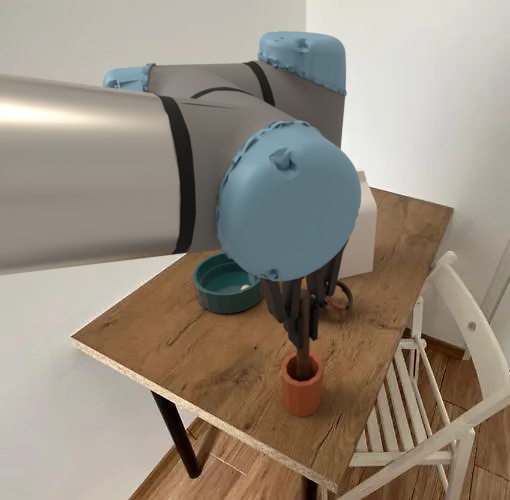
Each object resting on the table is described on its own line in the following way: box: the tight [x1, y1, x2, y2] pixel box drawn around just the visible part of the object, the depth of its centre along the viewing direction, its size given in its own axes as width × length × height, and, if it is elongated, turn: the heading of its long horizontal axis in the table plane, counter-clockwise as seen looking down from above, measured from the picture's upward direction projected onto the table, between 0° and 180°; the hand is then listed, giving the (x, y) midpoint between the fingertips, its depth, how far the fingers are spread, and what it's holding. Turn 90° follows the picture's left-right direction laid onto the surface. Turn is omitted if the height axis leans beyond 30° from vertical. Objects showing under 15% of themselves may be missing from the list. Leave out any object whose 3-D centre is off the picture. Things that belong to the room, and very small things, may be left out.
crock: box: [280, 350, 324, 418], centre depth 59 cm, size 7×7×9 cm
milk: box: [337, 167, 378, 280], centre depth 86 cm, size 12×12×26 cm
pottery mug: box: [325, 279, 354, 323], centre depth 77 cm, size 12×10×8 cm
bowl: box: [192, 251, 265, 314], centre depth 81 cm, size 15×15×6 cm
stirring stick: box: [295, 288, 311, 382], centre depth 53 cm, size 2×2×20 cm
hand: (302, 338), depth 53 cm, fingers closed on stirring stick, 2 cm apart
